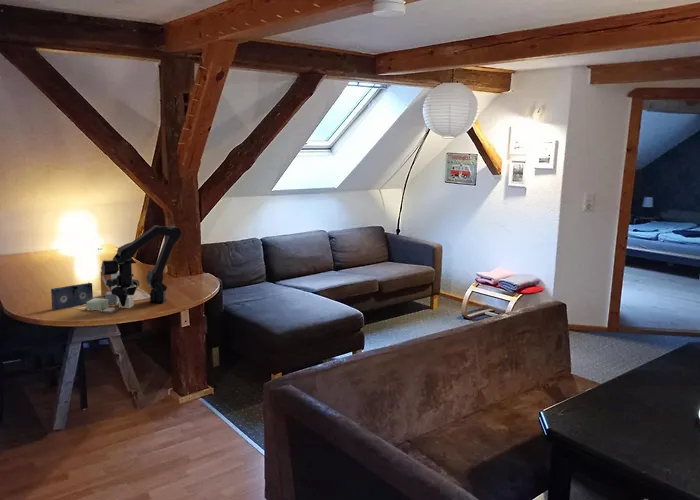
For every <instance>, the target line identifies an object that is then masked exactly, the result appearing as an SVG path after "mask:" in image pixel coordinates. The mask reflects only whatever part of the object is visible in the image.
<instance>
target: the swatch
mask: <svg viewBox="0 0 700 500" xmlns="http://www.w3.org/2000/svg"><path fill="white" fill-rule="evenodd" d="M118 310H119V308H117V307H107V308H105V309H103V310H102V311H99V312H103V314H105V313H106V314H115V312H117V311H118Z"/></svg>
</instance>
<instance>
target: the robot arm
mask: <svg viewBox="0 0 700 500" xmlns="http://www.w3.org/2000/svg"><path fill="white" fill-rule="evenodd" d="M158 235H161V236H164V237H163V239H164V240H163V245H162V247H161V249H160V252H159V254H158V258H157V260H156V262H155V265H154V267H153V269H152V270H148V271H147V275H146V277H145V282H146V284H147V285H148V286H149V287H150V292H149V303H151V304H163V303H165V302H166V301H167V300H168V299H167V298H166V297H167V296H166V295H167V293H166V292H167V289H168V286H167V285H165V284H164V283H163V281H164V271H165V268H166V265H167V263H168V262H169V258H170V255H171V252H172V250H173V247H174V245H175V244H176V243H177V242H178V240H179V239H180V238H181V236H182V230H181V228H179V227H176V226H174V225H168V226H165V225H164V226H163V225H162V226H161V225H152V227H151V228H149V229H148V230H147V231H145V232H143V233H142V234H141V235H140V236H139V237H137V238H135V239H134V240H132V241H131V242H129V243H126V244H123V245H121V246H119V247H118V248H117V250H116V251H117V252H116V253H115V255H114V256H113V258H112V259H111V260H102V263H101V267H100V269H101V271H102V274H103V275H110V274H116V273H118V271H119V275H118V276H117V278H114V279H108V280H107V282H106V285H107V286H109V288H110V287H112V286H115V285H117V286H121V287H115V288H113V289H112V290H111V292H112V294H113V295H116V296H118V301H119V300H120V302H121V305H122V306H125V303H126V300H127V297H128V295H133V297H134V295H135V294H136V291H137V289H138V287H139V286H140V281H139V279H133V277H134V273H133V269H132V268H133V264H136V263H137V261H136V260H134V259H133V257H134V256H135V254H137V252H138V251H139V249H141V248H142V247H143V246H145V245H146V244H148V243H149V242H150V241H152V240H153V239H154V238H156V237H158ZM101 271H100V272H101Z"/></svg>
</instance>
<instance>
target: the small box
mask: <svg viewBox="0 0 700 500" xmlns="http://www.w3.org/2000/svg"><path fill="white" fill-rule="evenodd" d="M118 275H119V271H118V273H116V274H110V275H103V274H102V271H100V293H101V294H100V296H102V297H103V298H104V297H105V294H106V293H107V292H111V290H112V289H113V288H115V287H121V286H117V285H115V286H112V287H110V288H109V286H107V285H106V282H107V280H108V279H114V278H117V276H118ZM105 298H106V297H105Z"/></svg>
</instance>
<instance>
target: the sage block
mask: <svg viewBox="0 0 700 500" xmlns="http://www.w3.org/2000/svg"><path fill="white" fill-rule="evenodd" d="M106 307H107V308H109V304H108V299H106V298H95V297H93V299H92V300H90V301H88V302H86V304H85V308H86V309H91V310H90V311H93V310H103V309H105V308H106Z"/></svg>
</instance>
